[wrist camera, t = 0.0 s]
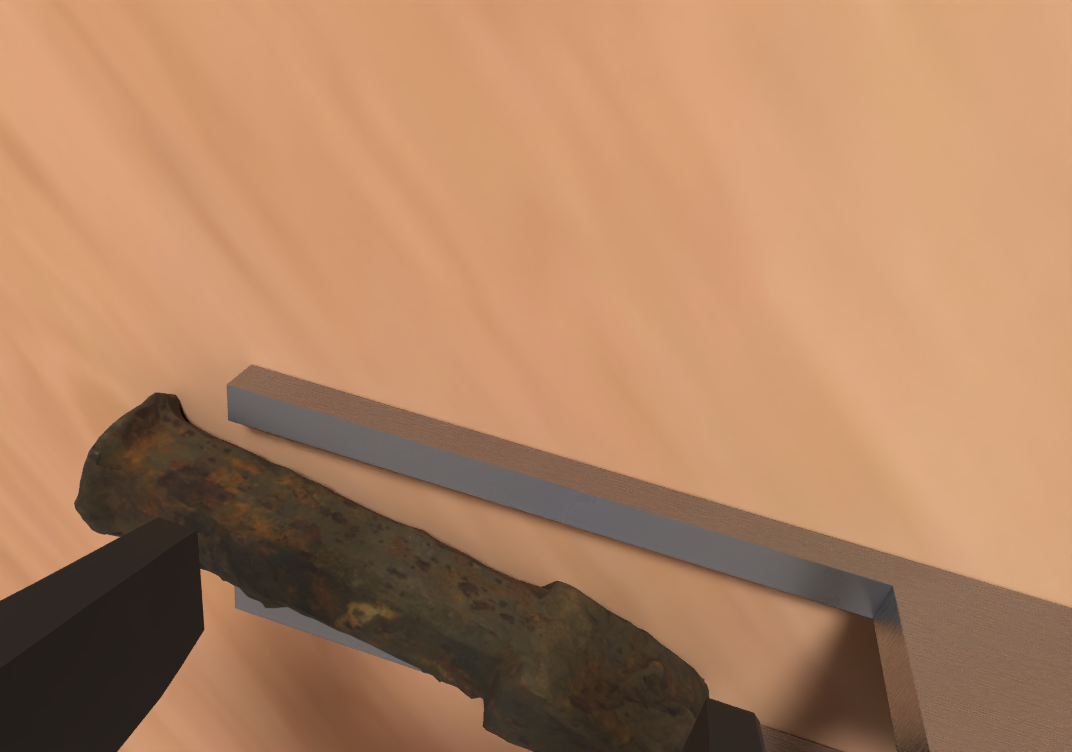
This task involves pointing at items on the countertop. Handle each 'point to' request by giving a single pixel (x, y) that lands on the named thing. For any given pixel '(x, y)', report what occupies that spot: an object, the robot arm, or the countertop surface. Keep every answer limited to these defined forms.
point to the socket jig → (727, 568)
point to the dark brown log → (396, 590)
